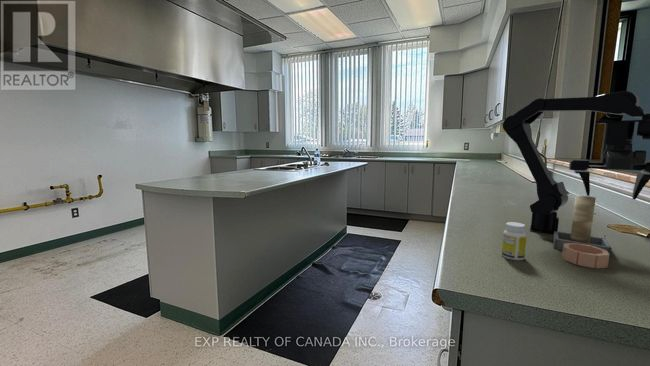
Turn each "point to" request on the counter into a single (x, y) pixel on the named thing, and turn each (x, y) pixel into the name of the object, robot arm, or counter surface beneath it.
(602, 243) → the tray
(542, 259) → the counter surface
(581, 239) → the dowel
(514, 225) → the supplement bottle
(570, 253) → the pink faceted bowl
